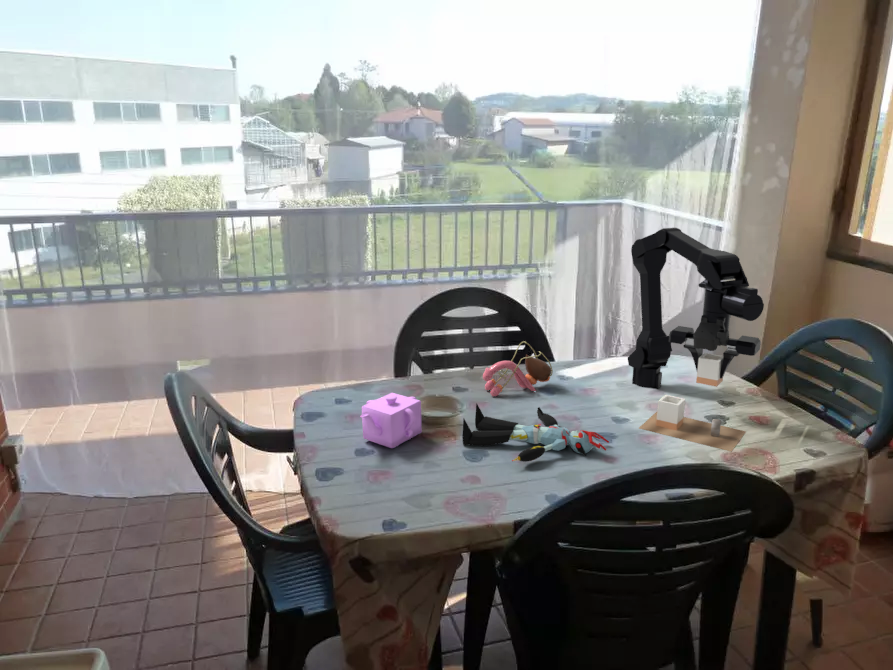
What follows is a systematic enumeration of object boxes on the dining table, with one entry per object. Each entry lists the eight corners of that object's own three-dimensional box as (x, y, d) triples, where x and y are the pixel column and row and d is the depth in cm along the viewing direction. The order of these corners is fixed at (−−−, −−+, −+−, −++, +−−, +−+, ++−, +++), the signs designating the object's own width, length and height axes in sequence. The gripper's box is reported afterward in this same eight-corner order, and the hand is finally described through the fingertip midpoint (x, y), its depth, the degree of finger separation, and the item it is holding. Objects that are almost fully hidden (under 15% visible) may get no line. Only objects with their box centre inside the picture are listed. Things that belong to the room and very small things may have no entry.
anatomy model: (468, 375, 177) (507, 326, 177) (507, 405, 183) (545, 358, 183) (483, 390, 167) (525, 338, 166) (523, 421, 173) (564, 371, 173)
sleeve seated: (656, 425, 151) (658, 400, 149) (663, 418, 155) (665, 394, 153) (676, 430, 148) (678, 405, 147) (683, 423, 152) (685, 398, 150)
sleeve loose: (696, 382, 153) (698, 357, 152) (702, 377, 157) (704, 352, 155) (716, 386, 151) (719, 361, 149) (722, 380, 154) (725, 356, 152)
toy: (487, 389, 160) (615, 398, 150) (489, 419, 163) (615, 430, 152) (450, 432, 137) (598, 446, 127) (452, 466, 140) (599, 483, 129)
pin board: (638, 433, 150) (639, 413, 149) (657, 415, 159) (658, 397, 158) (730, 456, 139) (733, 436, 137) (745, 436, 148) (747, 416, 146)
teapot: (384, 463, 138) (382, 418, 135) (337, 445, 146) (334, 403, 143) (437, 433, 152) (437, 391, 149) (392, 418, 160) (390, 379, 157)
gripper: (663, 311, 148) (657, 377, 153) (752, 324, 137) (743, 395, 142) (679, 302, 157) (674, 364, 161) (764, 313, 146) (756, 380, 150)
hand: (710, 375), depth 153 cm, fingers closed on sleeve loose, 5 cm apart
